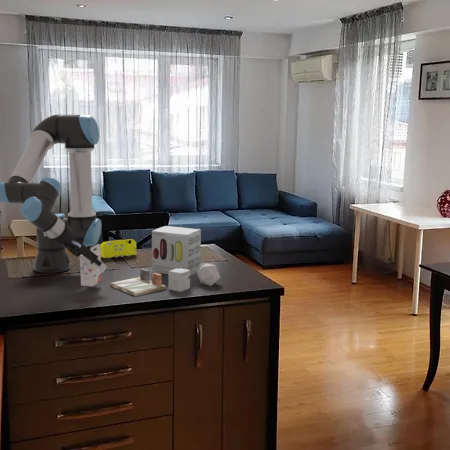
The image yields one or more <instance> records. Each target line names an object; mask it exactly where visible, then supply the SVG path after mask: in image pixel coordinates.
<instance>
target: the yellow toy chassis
mask: <svg viewBox="0 0 450 450" xmlns="http://www.w3.org/2000/svg"><path fill="white" fill-rule="evenodd" d="M99 245H100V252H101V258H103V259H112V258H116V259H117V258H119V257H121V258H123V257H124V256H125V257H132V256H135V255H137V241H136V240H134V239H133V238H131V239H117V240H108V241H107V240H106V241H103V242H102V243H101V244H99Z"/></svg>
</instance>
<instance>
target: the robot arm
mask: <svg viewBox="0 0 450 450" xmlns="http://www.w3.org/2000/svg"><path fill="white" fill-rule="evenodd" d="M99 139H100V129H99V126H98V123H97V121H96V118H94V117H93V116H92V115H89V114H88V115H87V114H52V115H50V116H48V117H46V118H44V119H43V120H42V121H40V122H39V123H38V124H37V125H36V126H35V127H34V128H33V129H32V131H31V133H30V135H29V140H30V141H29V142H28V144H27V146H26V147H25V150H24V151H23V153H22V155H21V157H20V158H19V161H18V162H17V164H16V166H15V167H14V169H13V171H12V173H11V175H10V176H9V178H8V179H7V181H2V182H0V203H2V204H3V203H4V204H10V205H11V204H15V205H16V204H21V206H20V208H19V209H20V214H21V215H22V216H23V217H24V218H25V219H26V220H27V221H28V222H30V223H31V224H32V225H33V226H35V230H36V247H37V248H36V249H37V252H36V256H35V259H34V263H33V270H34V271H35V272H36V273H37V272H38V273H43V274H54V273H61V272H66V271H69V270H70V269H71V267H72V266H71V259H70V258H69V254H68V252H67V250H68V251H69V252H70V253H71V254H72V255H74V256H75V257H78V258H79V259H80V255H83V256H84V257H86V258H87V259H88V260H90V261H91V263H90V264H93V265H95V266H96V267H97V268H98V269H99V270H100V271H101V273H104V272H105V270H106V269H107V268H108V266H107V265H106V264H105V263H104V262H103V261H102V260H101V261H100V260H99V259H98V256H97V255H95V254H94V253H93V252H92V251H91V250H90V248H88V247H93V246H95V245H97V244H98V243H99V241H100V237H101V233H102V226H103V225H102V220H101V219H100V218H97V213H96V212H95V211H94V210H93V191H92V190H93V189H92V187H93V186H92V158H91V157H92V154H91V153H92V151H94V149H95V145H97V144H98V143H99V141H100V140H99ZM57 144H62V145H63V144H64V149H65V150H66V151H67V152H68V154H69V155H68V161H69V163H68V164H69V185H70V211H69V212H68V214H67V217H66V214H64V213H54V212H53V211H54V206H55V204H56V201H57V200H58V197H59V196H60V191H61V188H62V186H61V184H60V182H59V180H57V179H56V178H54V177H51V176H46V177H44V178H42V179H41V180H40V182H36V183H35V182H33V180H34V178H35V176H36V174H37V173H38V170H39V169H40V166H41V165H42V163H43V161H44V158H45V157H46V155H47V153H48V151H49V150H51V149H52V148H53V147H54V145H57Z"/></svg>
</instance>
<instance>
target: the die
mask: <svg viewBox="0 0 450 450" xmlns="http://www.w3.org/2000/svg"><path fill="white" fill-rule="evenodd" d="M196 274H197V277H198V280H199V282H200V284H201V285H206V286H210V287H212V286H213V285H214V284H215V283H216V282H217V281H218V280H219V279H221V275H220V272H219V270H218V267H217V265H215V264H211V263H205V264H203V265H201V268H200V269H199V270H198V271H197V272H196Z"/></svg>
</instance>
